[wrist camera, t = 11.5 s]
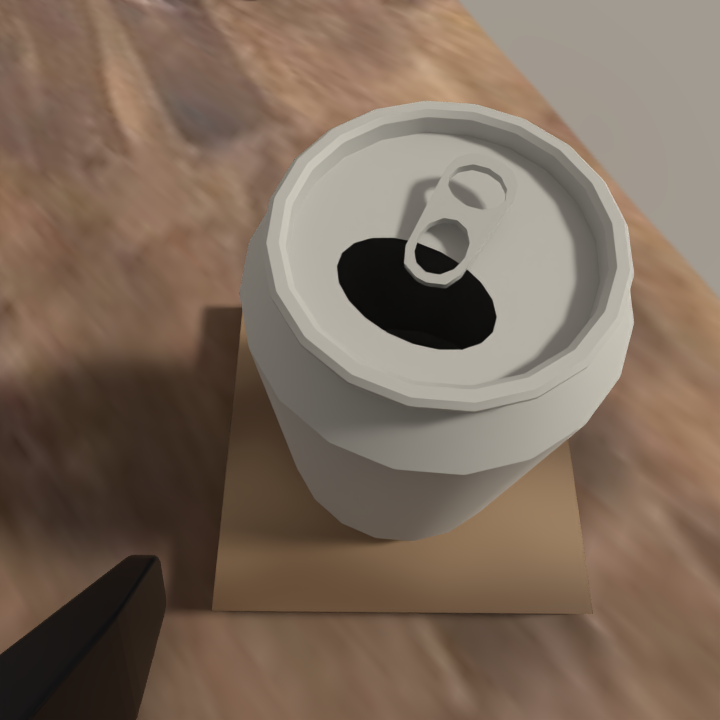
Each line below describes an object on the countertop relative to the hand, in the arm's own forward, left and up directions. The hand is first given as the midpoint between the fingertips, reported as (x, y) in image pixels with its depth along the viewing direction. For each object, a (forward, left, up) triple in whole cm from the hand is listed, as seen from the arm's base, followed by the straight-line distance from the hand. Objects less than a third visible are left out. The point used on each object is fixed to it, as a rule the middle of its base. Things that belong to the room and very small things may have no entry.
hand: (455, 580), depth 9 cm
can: (+3, +5, -11) cm, 12 cm away
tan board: (+3, +5, -13) cm, 14 cm away
